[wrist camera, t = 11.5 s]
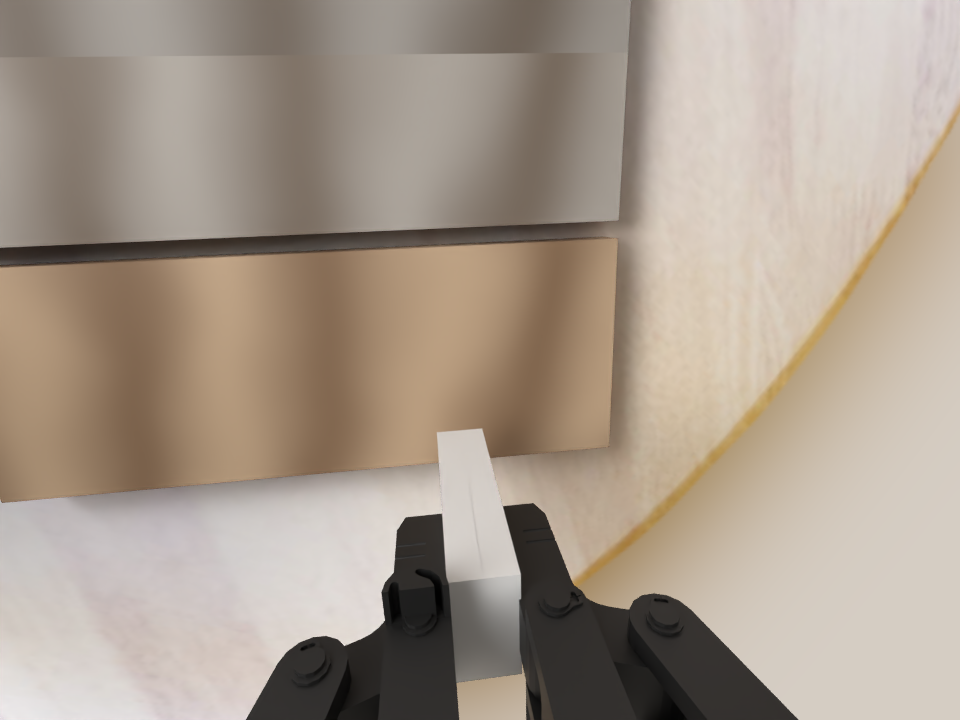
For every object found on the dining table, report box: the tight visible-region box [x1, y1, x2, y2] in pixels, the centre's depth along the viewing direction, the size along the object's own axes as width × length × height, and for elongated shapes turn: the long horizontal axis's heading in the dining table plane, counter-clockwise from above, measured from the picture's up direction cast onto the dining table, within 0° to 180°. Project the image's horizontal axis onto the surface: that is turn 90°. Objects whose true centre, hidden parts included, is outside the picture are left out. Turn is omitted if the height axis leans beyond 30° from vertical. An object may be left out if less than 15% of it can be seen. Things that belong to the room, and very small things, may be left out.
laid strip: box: [0, 0, 631, 248], centre depth 14 cm, size 22×10×2 cm, turn 92°
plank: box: [0, 237, 618, 503], centre depth 17 cm, size 22×8×2 cm, turn 92°
